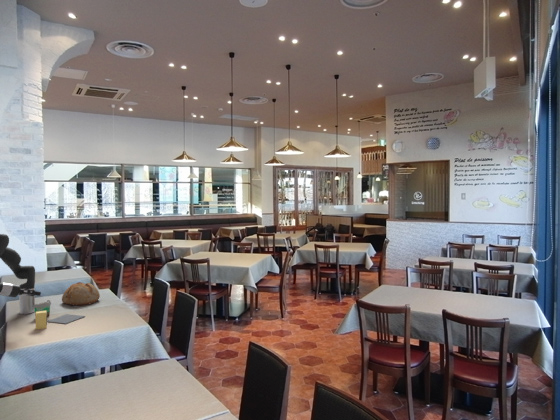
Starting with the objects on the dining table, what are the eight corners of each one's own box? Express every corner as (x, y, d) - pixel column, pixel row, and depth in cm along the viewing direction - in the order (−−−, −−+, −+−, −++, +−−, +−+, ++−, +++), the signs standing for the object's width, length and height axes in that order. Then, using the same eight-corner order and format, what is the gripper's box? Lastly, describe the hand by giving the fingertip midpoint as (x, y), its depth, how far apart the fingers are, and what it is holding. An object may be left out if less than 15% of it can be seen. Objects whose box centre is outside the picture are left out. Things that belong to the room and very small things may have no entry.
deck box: (36, 327, 240) (36, 311, 240) (47, 326, 243) (46, 310, 243) (35, 329, 236) (35, 313, 236) (46, 328, 239) (46, 312, 239)
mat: (46, 322, 251) (46, 321, 251) (66, 314, 266) (66, 314, 266) (65, 324, 246) (65, 323, 246) (85, 316, 261) (85, 316, 261)
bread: (55, 304, 294) (54, 285, 294) (81, 297, 316) (81, 279, 316) (80, 307, 284) (79, 287, 284) (105, 300, 306) (105, 281, 305)
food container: (41, 319, 256) (41, 305, 255) (33, 319, 257) (33, 304, 257) (55, 314, 268) (55, 300, 267) (48, 314, 269) (48, 299, 269)
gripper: (15, 283, 227) (44, 287, 239) (6, 284, 235) (34, 289, 247) (11, 295, 224) (40, 299, 236) (2, 296, 233) (30, 300, 244)
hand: (37, 294), depth 242 cm, fingers open, 8 cm apart
